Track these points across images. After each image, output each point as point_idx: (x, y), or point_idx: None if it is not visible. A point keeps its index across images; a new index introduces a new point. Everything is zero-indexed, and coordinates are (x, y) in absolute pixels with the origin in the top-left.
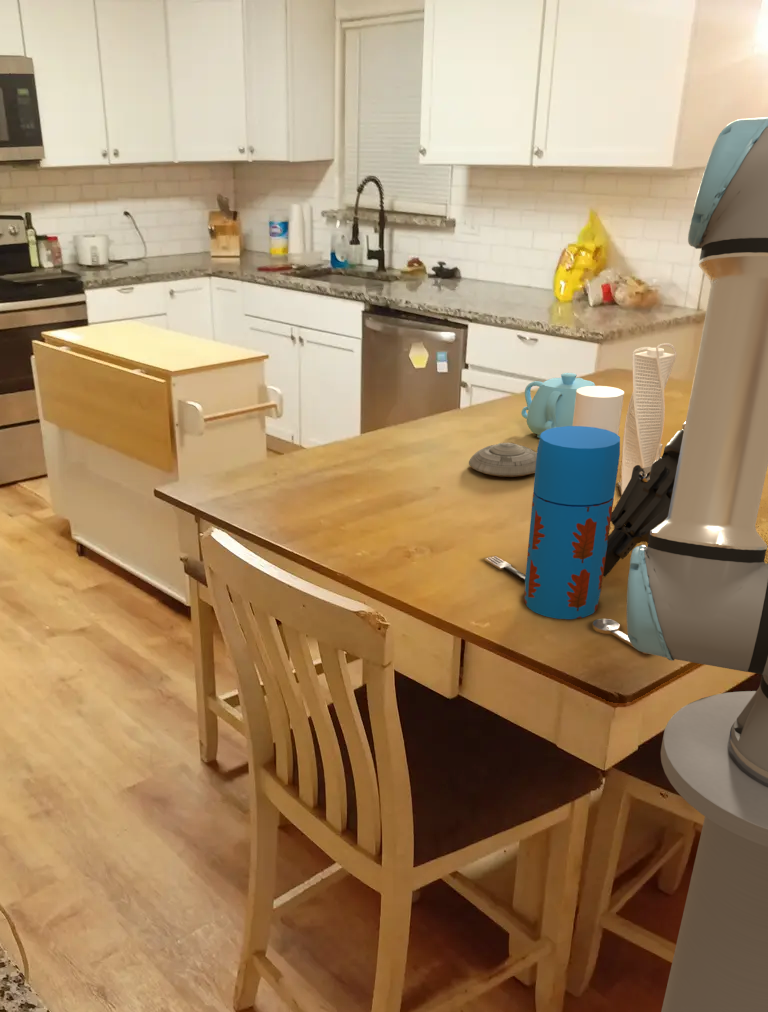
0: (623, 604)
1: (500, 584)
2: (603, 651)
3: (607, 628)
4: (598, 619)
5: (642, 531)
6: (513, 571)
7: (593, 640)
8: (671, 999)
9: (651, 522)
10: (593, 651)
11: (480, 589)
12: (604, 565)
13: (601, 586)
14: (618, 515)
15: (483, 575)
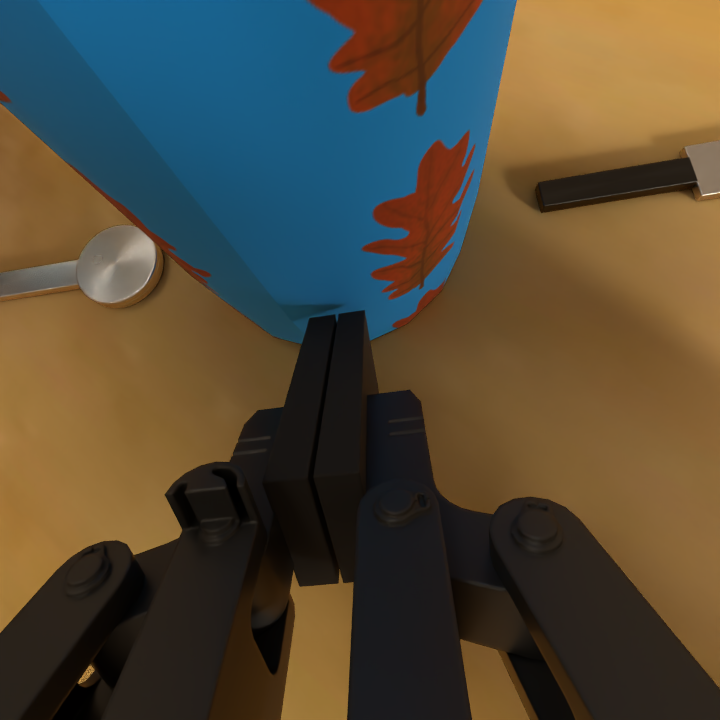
0: (231, 425)
1: (551, 110)
2: (29, 194)
3: (94, 252)
4: (153, 257)
5: (85, 564)
6: (631, 172)
7: (88, 200)
8: None
9: (2, 717)
10: (43, 171)
11: (533, 41)
12: (130, 220)
13: (192, 276)
14: (516, 591)
15: (648, 85)
